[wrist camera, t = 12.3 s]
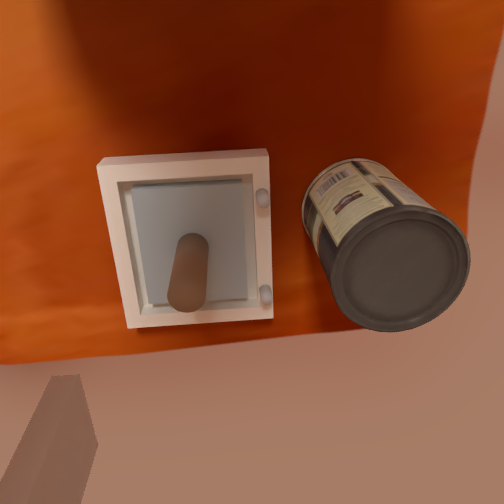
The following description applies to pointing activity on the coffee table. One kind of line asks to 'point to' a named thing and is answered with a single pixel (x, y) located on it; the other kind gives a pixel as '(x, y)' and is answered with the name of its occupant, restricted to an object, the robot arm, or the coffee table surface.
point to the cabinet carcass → (186, 170)
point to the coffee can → (383, 247)
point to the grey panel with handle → (191, 241)
